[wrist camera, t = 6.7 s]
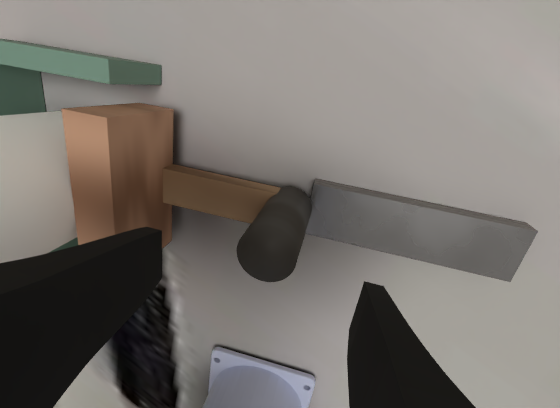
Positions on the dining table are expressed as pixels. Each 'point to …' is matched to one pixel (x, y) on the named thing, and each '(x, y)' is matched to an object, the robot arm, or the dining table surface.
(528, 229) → the rail
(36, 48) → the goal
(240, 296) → the dining table surface
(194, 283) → the dining table surface
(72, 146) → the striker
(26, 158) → the can
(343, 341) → the dining table surface
